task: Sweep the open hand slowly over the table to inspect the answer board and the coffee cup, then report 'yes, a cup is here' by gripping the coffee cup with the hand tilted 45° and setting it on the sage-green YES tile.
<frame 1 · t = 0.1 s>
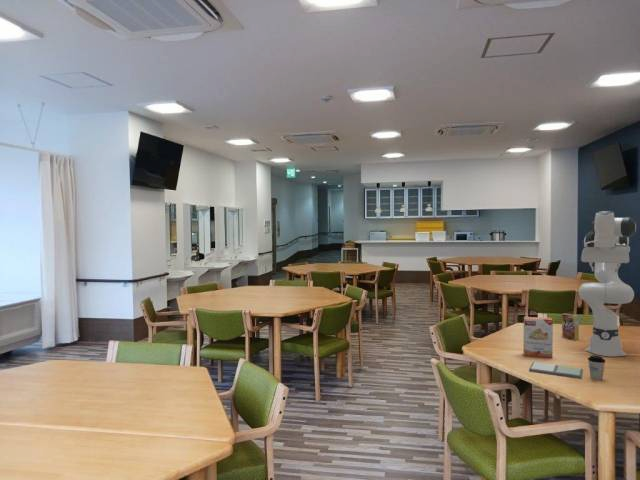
hand: (604, 271, 223), 48 cm above the table, tool pointing down, fingers open, 8 cm apart
coffee cup: (596, 379, 209), on the table
cracker box: (537, 356, 247), on the table
candy box: (570, 339, 284), on the table
answer board: (555, 370, 220), on the table
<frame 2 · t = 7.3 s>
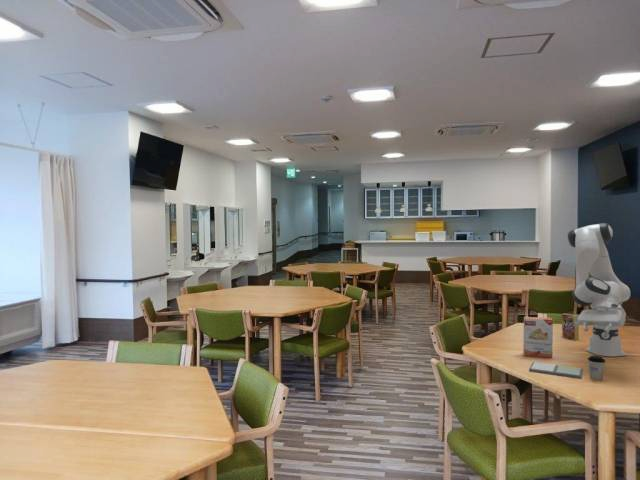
hand: (595, 331, 214), 21 cm above the table, tool tilted 50°, fingers open, 8 cm apart
nothing on the table moved.
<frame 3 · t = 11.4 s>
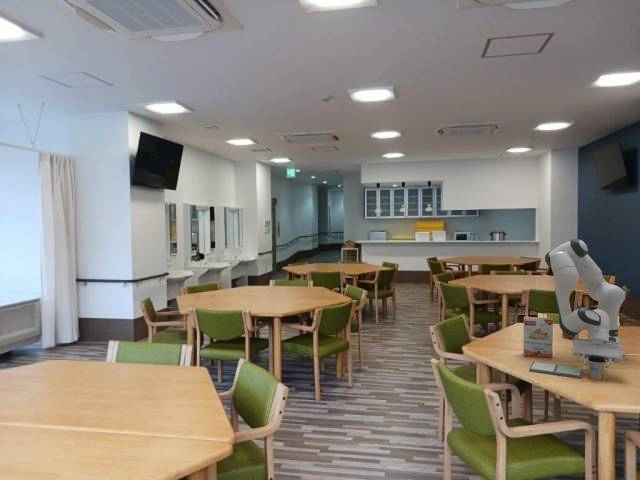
hand: (596, 366, 208), 6 cm above the table, tool tilted 45°, fingers closed on coffee cup, 7 cm apart
coffee cup: (596, 379, 209), on the table, touching gripper
everything else where it was.
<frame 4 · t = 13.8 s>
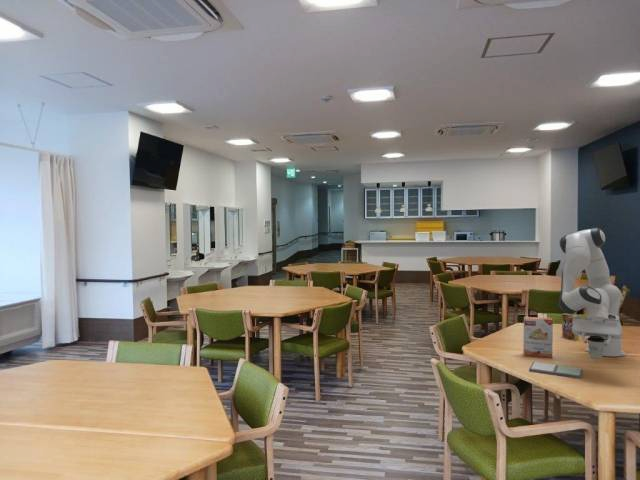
hand: (595, 343, 208), 16 cm above the table, tool tilted 45°, fingers closed on coffee cup, 7 cm apart
coffee cup: (596, 358, 209), point 9 cm above the table, touching gripper
everything else where it was.
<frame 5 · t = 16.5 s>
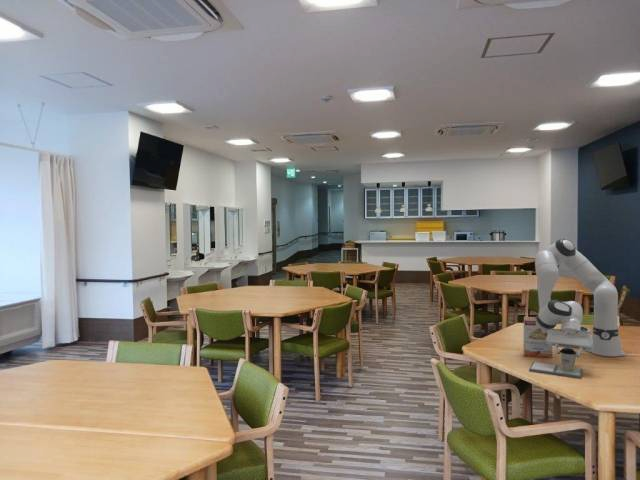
hand: (567, 354, 217), 9 cm above the table, tool tilted 45°, fingers closed on coffee cup, 7 cm apart
coffee cup: (568, 370, 218), point 1 cm above the table, touching answer board, gripper
everything else where it was.
when the fingers open (9 cm above the table, at t = 17.1 s): coffee cup stays where it is, resting on answer board.
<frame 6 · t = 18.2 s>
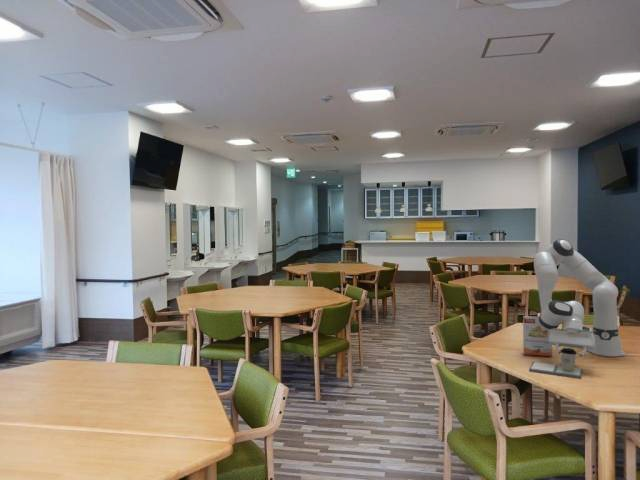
hand: (570, 354, 218), 9 cm above the table, tool tilted 45°, fingers open, 8 cm apart
coffee cup: (568, 370, 218), point 1 cm above the table, touching answer board, gripper
cracker box: (537, 355, 247), on the table, touching arm
everything else where it was.
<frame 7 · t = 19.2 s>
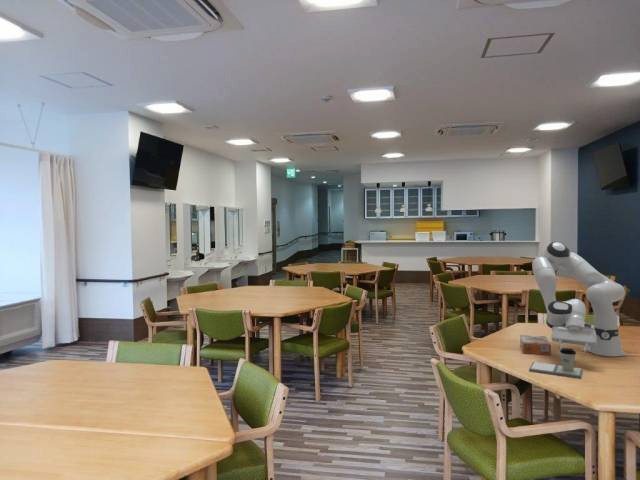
hand: (572, 350, 225), 9 cm above the table, tool tilted 45°, fingers open, 8 cm apart
coffee cup: (568, 370, 218), point 1 cm above the table, touching answer board
cracker box: (537, 349, 249), point 3 cm above the table
everything else where it was.
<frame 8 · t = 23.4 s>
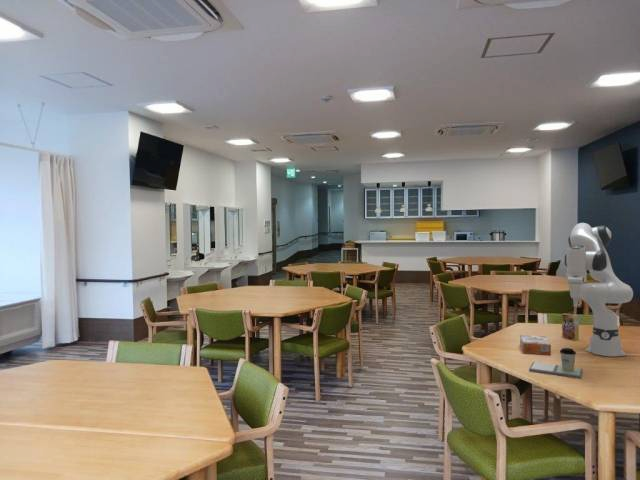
hand: (576, 305, 225), 31 cm above the table, tool pointing down, fingers open, 8 cm apart
nothing on the table moved.
at the end: coffee cup inside the target area (0.3 cm from its centre), point 1.1 cm above the table; coffee cup tilted 0°; the gripper is holding nothing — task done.
